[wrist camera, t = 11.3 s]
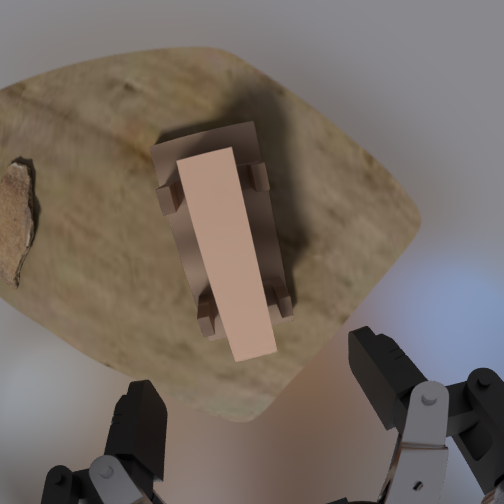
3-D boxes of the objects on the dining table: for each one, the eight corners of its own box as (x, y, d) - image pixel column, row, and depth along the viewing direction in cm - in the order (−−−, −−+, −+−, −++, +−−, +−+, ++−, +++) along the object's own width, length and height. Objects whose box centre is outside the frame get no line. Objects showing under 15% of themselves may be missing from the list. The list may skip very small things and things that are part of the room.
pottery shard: (6, 154, 21) (-12, 270, 24) (-6, 153, 19) (-23, 277, 22) (56, 171, 24) (33, 294, 26) (44, 171, 21) (23, 303, 24)
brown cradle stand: (289, 313, 31) (303, 343, 26) (209, 333, 30) (210, 366, 25) (251, 122, 24) (261, 114, 18) (153, 146, 23) (137, 145, 18)
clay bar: (231, 328, 27) (235, 361, 22) (184, 159, 21) (176, 161, 16) (266, 319, 27) (277, 351, 22) (227, 148, 21) (231, 147, 17)
